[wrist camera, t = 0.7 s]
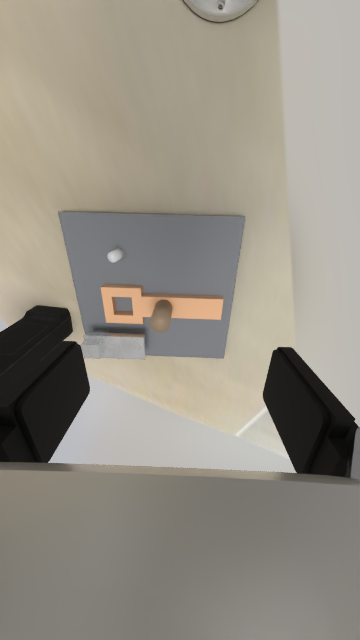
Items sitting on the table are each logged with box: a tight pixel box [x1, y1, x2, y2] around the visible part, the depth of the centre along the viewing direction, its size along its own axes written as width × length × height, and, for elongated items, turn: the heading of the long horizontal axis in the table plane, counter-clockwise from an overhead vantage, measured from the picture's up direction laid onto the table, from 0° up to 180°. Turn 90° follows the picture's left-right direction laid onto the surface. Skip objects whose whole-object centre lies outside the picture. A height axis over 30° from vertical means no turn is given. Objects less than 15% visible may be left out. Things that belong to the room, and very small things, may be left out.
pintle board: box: [58, 212, 245, 358], centre depth 37 cm, size 27×29×5 cm
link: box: [101, 284, 223, 332], centre depth 35 cm, size 22×7×8 cm, turn 89°
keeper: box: [81, 329, 146, 360], centre depth 40 cm, size 5×11×7 cm, turn 89°
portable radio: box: [0, 306, 73, 397], centre depth 31 cm, size 8×6×25 cm
